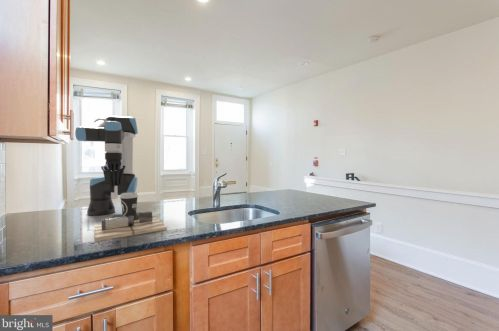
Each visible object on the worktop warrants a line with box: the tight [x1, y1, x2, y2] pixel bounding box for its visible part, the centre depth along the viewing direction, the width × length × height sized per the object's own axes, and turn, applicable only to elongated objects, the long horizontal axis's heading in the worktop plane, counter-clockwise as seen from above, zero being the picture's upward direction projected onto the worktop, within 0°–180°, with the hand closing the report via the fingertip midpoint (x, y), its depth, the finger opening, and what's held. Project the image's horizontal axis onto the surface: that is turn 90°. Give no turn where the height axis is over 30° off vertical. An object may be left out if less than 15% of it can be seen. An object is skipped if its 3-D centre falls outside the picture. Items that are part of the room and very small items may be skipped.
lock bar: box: [100, 216, 134, 230], centre depth 120 cm, size 14×4×5 cm, turn 123°
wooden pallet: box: [94, 210, 168, 242], centre depth 122 cm, size 21×30×6 cm
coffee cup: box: [119, 192, 139, 220], centre depth 140 cm, size 10×10×15 cm
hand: (114, 198), depth 125 cm, fingers closed
